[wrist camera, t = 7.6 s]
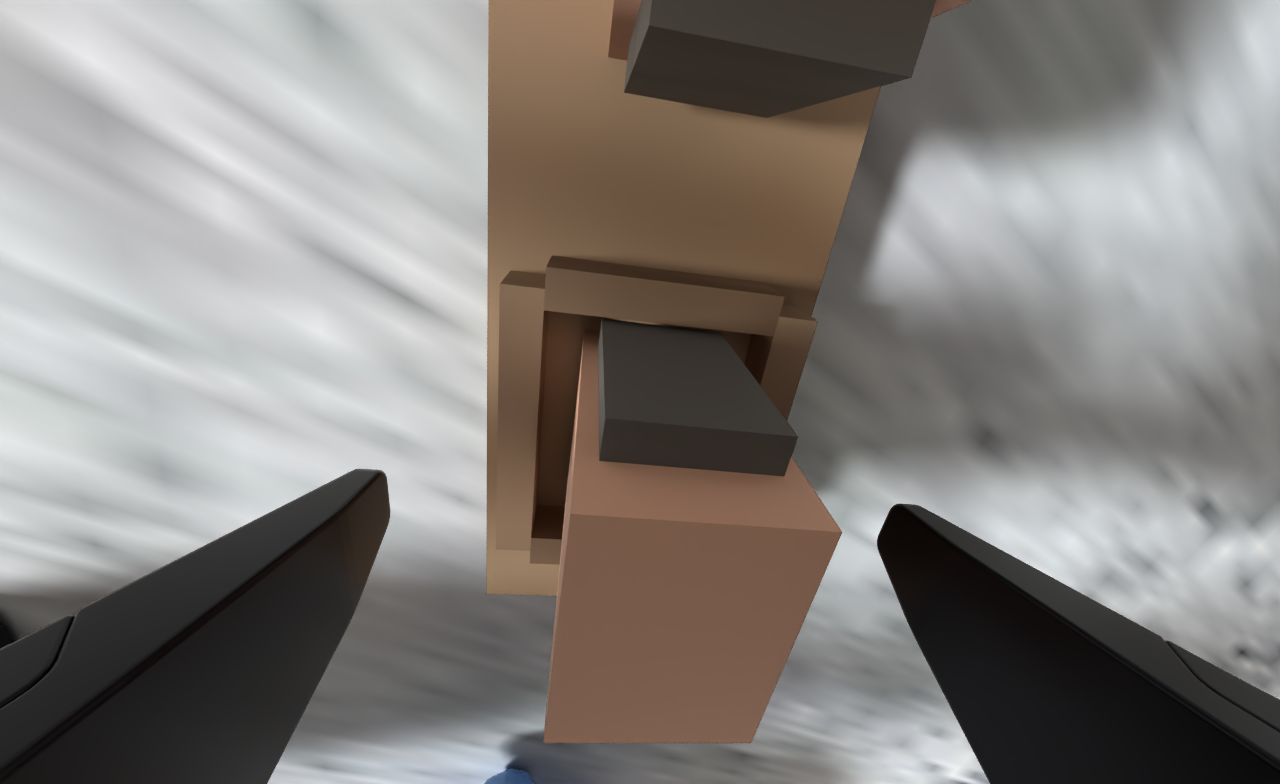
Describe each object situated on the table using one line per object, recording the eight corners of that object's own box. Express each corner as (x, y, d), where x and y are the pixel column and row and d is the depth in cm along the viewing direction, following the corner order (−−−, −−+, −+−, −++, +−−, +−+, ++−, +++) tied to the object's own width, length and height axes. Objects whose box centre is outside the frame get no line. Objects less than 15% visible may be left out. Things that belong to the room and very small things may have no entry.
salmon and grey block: (682, 489, 12) (750, 742, 7) (567, 480, 12) (543, 742, 6) (723, 320, 10) (861, 488, 5) (586, 303, 10) (575, 464, 5)
